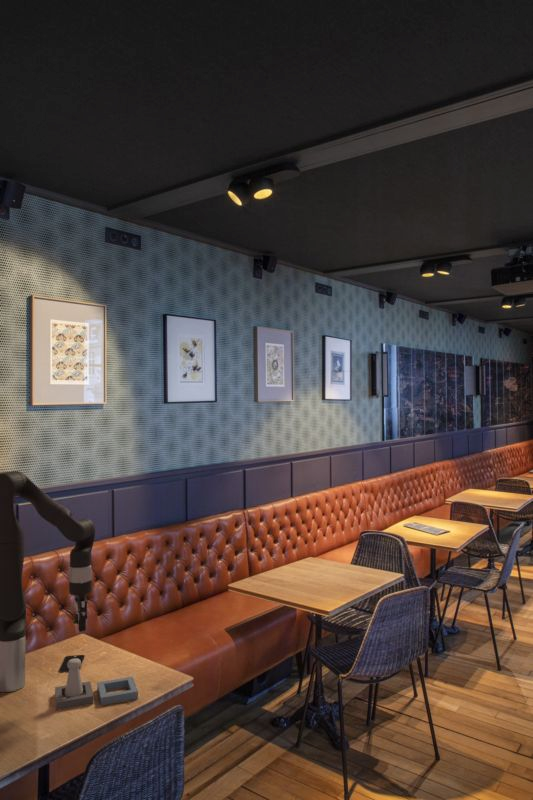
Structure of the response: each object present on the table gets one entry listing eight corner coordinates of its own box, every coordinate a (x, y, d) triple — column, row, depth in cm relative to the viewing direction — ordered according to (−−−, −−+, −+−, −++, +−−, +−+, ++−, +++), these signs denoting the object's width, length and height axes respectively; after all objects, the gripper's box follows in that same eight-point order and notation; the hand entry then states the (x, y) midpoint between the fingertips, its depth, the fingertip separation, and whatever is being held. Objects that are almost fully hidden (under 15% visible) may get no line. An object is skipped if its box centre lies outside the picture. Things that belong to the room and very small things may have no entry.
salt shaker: (60, 700, 193) (61, 661, 194) (73, 693, 198) (74, 655, 199) (73, 704, 191) (73, 664, 191) (86, 697, 196) (86, 658, 196)
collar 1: (55, 710, 187) (55, 702, 187) (54, 694, 198) (55, 687, 198) (93, 703, 191) (93, 696, 191) (90, 688, 202) (90, 681, 202)
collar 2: (100, 705, 190) (100, 697, 190) (97, 689, 201) (97, 682, 201) (138, 698, 194) (138, 691, 194) (132, 683, 206) (132, 676, 206)
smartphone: (85, 654, 231) (79, 670, 216) (85, 656, 231) (79, 672, 216) (65, 655, 230) (57, 671, 215) (65, 657, 230) (57, 674, 215)
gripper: (67, 575, 203) (66, 622, 203) (71, 585, 190) (71, 635, 190) (89, 572, 206) (89, 619, 206) (95, 582, 193) (95, 632, 193)
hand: (80, 627), depth 198 cm, fingers open, 8 cm apart
